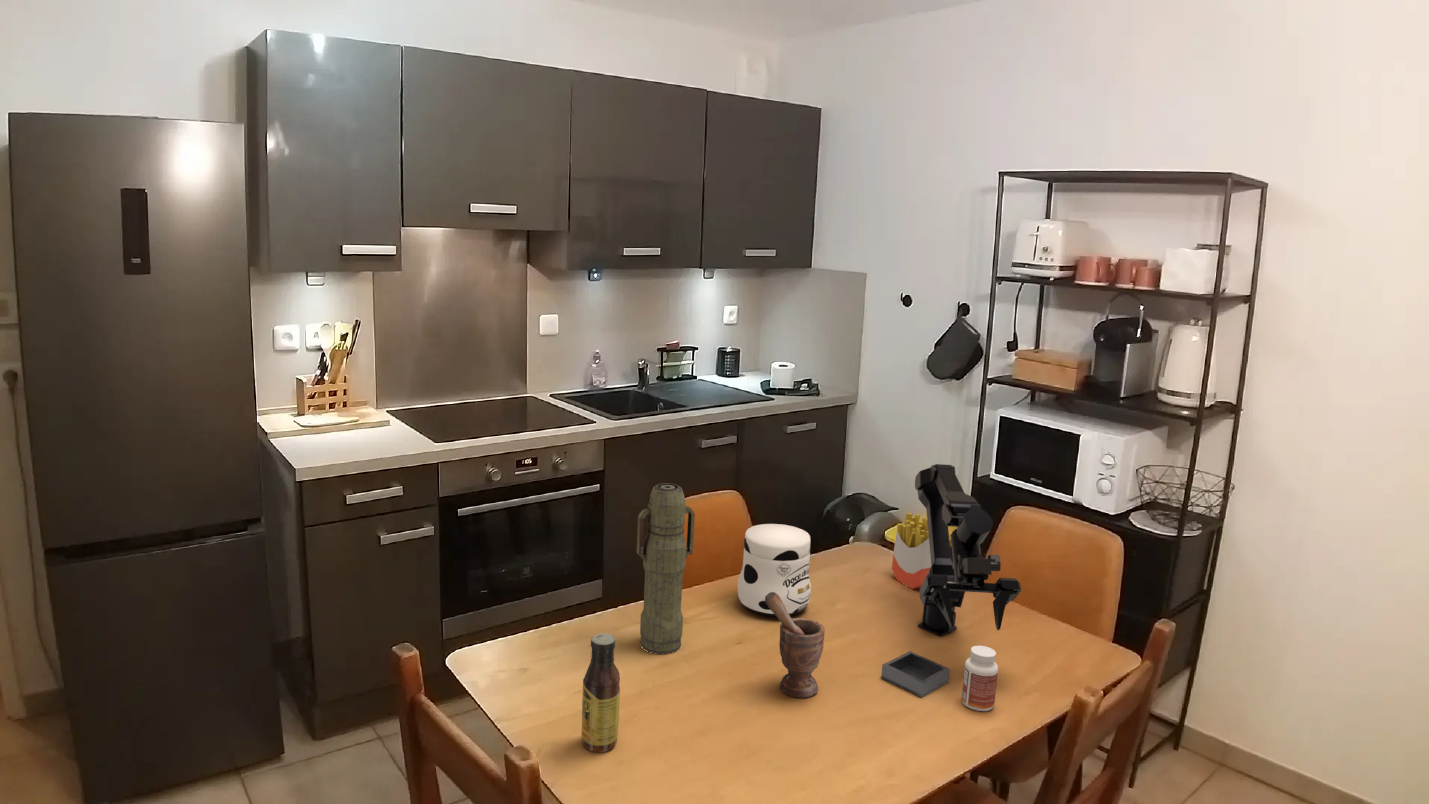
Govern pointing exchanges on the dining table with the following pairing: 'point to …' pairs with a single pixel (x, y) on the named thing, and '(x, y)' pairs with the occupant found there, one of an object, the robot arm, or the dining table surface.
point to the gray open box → (915, 674)
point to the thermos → (664, 567)
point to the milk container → (775, 568)
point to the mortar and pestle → (797, 649)
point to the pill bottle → (980, 679)
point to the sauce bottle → (601, 696)
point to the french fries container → (912, 551)
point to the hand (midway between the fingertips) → (975, 628)
